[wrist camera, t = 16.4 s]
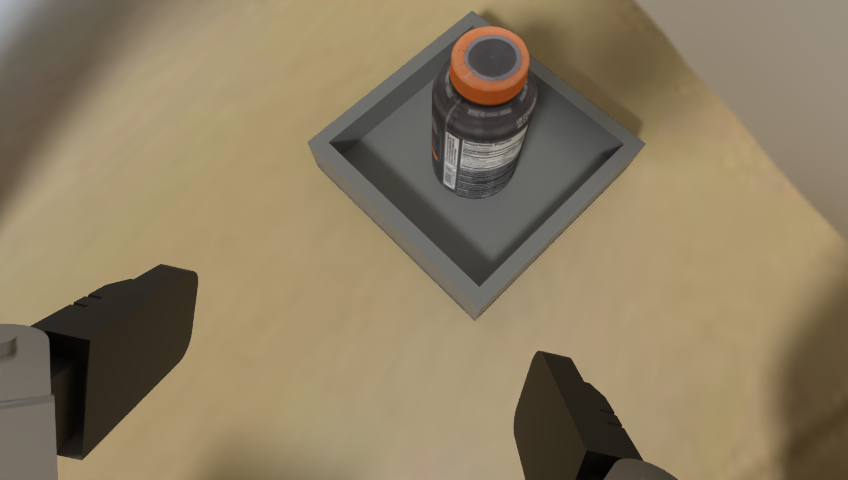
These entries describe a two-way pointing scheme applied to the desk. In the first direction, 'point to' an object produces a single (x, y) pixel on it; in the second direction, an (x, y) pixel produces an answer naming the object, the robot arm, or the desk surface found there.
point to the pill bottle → (481, 112)
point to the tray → (460, 217)
